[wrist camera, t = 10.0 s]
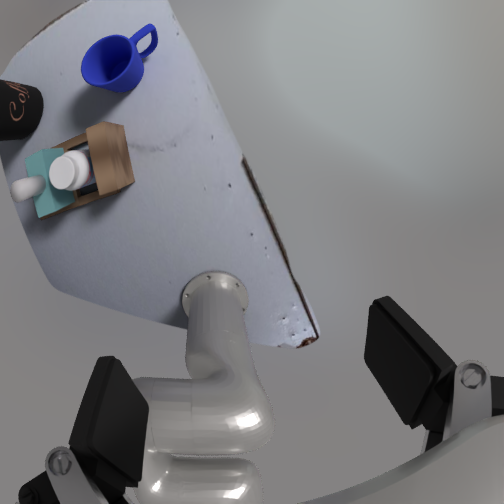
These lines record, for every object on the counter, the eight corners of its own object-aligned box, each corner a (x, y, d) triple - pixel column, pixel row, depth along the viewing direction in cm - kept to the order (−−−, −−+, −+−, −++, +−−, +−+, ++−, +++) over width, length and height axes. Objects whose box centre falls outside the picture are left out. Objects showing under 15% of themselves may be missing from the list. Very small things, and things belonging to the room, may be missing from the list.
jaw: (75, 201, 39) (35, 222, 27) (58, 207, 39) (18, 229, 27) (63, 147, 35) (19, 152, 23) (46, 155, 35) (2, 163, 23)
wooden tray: (136, 187, 42) (119, 196, 33) (44, 218, 40) (19, 232, 32) (122, 120, 37) (102, 114, 29) (31, 160, 36) (3, 165, 27)
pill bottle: (99, 188, 41) (70, 201, 30) (73, 175, 39) (40, 185, 28) (112, 156, 39) (84, 160, 29) (85, 143, 37) (53, 145, 27)
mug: (177, 59, 35) (168, 37, 25) (121, 106, 36) (99, 97, 27) (149, 32, 32) (136, 8, 22) (96, 78, 33) (71, 65, 24)
